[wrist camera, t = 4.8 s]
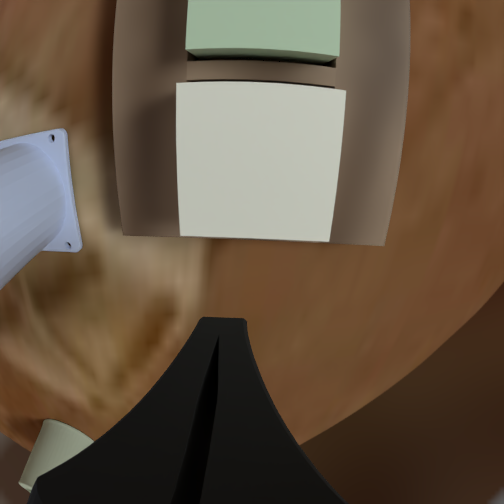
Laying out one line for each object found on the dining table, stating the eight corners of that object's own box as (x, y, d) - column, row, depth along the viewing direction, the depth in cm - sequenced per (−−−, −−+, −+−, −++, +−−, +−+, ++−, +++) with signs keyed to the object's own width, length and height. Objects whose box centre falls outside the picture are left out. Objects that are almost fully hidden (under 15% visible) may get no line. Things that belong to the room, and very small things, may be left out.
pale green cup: (33, 412, 31) (4, 477, 20) (83, 427, 31) (57, 502, 20) (61, 444, 35) (40, 502, 25) (108, 457, 35) (91, 522, 24)
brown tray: (135, 221, 18) (123, 235, 16) (155, -120, 6) (147, -134, 5) (372, 230, 18) (384, 245, 16) (381, -110, 6) (390, -123, 5)
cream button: (195, 206, 15) (180, 235, 12) (195, 86, 13) (176, 83, 10) (314, 211, 16) (329, 241, 12) (325, 92, 13) (346, 90, 10)
